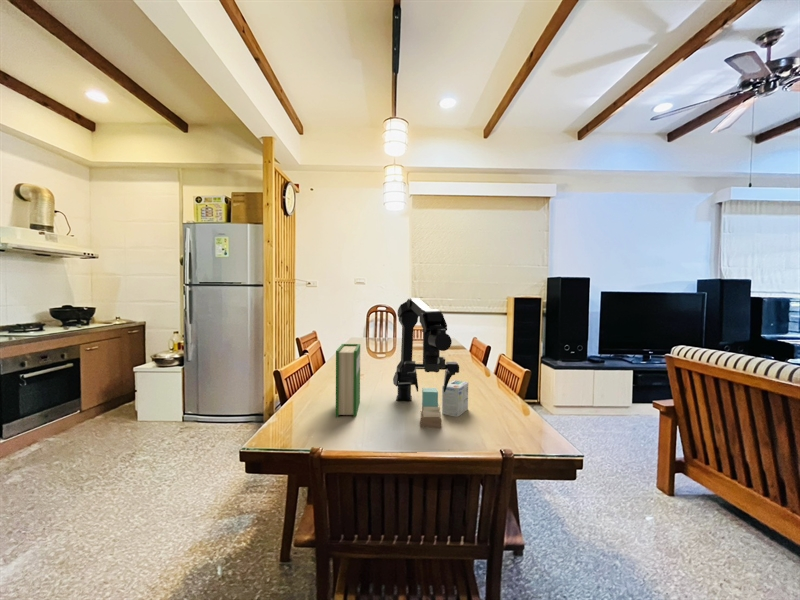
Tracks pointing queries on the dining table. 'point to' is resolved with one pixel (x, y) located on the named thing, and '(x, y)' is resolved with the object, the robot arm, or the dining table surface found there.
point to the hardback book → (347, 379)
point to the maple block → (431, 411)
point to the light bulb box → (455, 398)
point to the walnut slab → (430, 421)
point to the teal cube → (430, 397)
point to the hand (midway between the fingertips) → (430, 391)
